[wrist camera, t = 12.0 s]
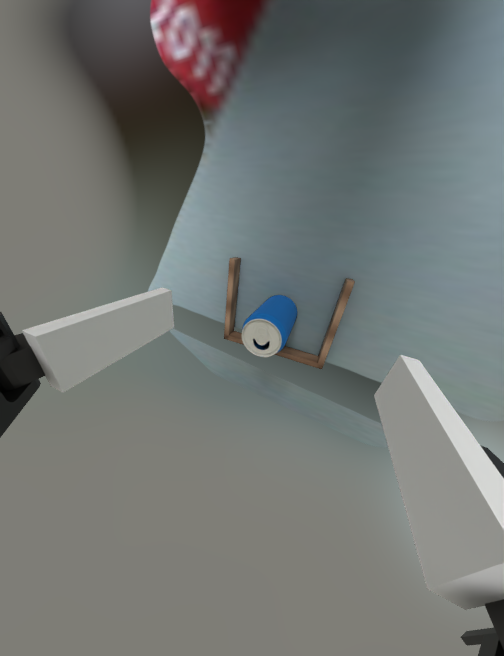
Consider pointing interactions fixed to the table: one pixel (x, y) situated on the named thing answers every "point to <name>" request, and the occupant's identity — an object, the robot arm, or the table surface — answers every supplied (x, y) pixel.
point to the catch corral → (286, 351)
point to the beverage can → (269, 326)
